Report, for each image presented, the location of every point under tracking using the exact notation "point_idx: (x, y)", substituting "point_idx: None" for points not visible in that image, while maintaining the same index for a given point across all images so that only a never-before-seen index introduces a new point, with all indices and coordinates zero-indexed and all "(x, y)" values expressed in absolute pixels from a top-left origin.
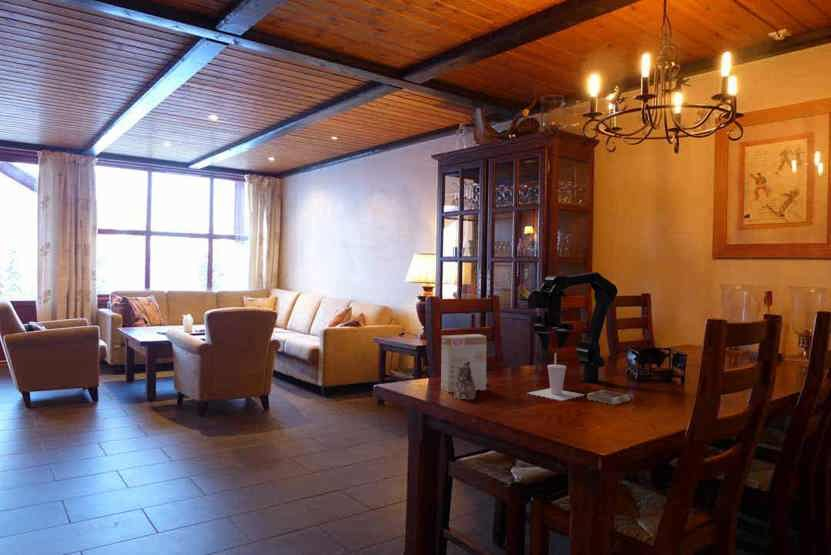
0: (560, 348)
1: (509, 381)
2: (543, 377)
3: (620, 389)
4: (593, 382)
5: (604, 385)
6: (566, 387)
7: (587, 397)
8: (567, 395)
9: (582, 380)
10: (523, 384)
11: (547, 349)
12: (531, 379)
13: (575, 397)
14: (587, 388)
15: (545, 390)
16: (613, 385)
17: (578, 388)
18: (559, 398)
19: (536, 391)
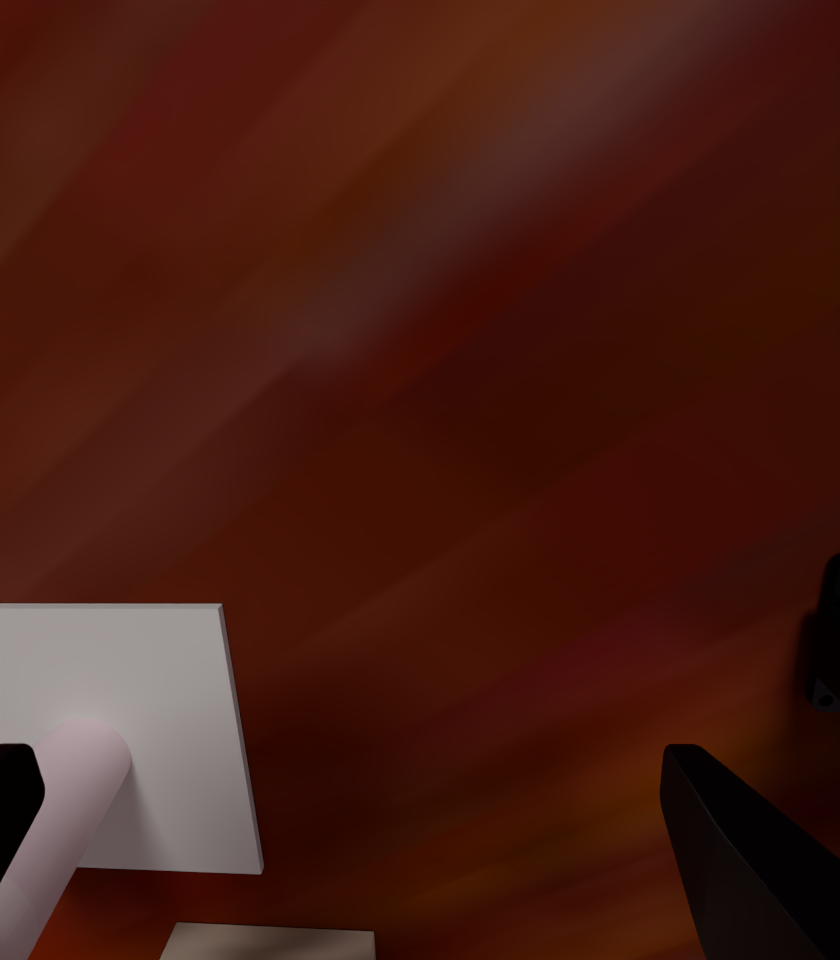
0: (665, 821)
1: (129, 51)
2: (728, 128)
3: None
4: (807, 695)
5: (776, 787)
6: (411, 642)
7: (170, 940)
8: (124, 822)
9: (829, 584)
10: (155, 297)
11: (19, 841)
12: (472, 131)
13: (148, 864)
14: (525, 763)
15: (99, 640)
16: (837, 829)
17: (461, 722)
18: None
19: (1, 619)
